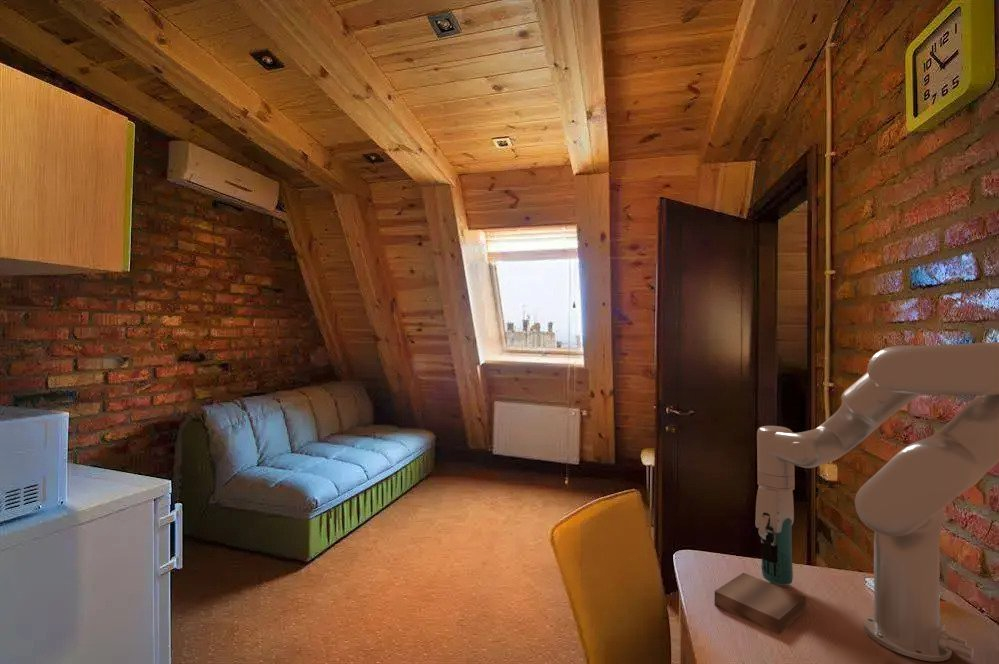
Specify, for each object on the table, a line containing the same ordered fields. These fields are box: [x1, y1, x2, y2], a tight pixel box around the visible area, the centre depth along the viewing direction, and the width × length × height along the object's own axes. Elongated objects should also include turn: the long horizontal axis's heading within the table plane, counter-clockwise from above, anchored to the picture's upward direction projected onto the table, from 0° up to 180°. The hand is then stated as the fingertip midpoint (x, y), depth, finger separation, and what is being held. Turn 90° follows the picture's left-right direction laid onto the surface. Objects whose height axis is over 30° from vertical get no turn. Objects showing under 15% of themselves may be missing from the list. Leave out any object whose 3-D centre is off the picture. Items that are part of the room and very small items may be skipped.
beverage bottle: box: [760, 518, 794, 586], centre depth 111 cm, size 6×7×20 cm
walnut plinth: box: [714, 572, 807, 636], centre depth 101 cm, size 13×13×3 cm
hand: (776, 555), depth 111 cm, fingers closed on beverage bottle, 6 cm apart
